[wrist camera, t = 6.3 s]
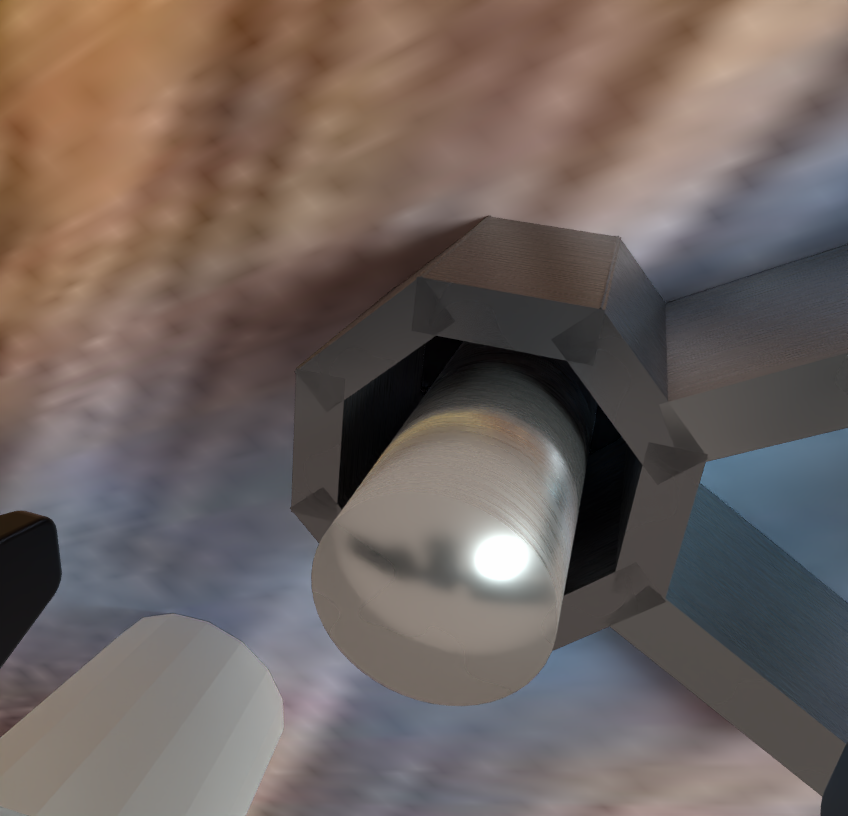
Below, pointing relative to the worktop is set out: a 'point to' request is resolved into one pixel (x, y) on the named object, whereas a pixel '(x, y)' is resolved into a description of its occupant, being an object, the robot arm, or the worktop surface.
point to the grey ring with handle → (633, 452)
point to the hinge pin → (463, 532)
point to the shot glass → (148, 729)
